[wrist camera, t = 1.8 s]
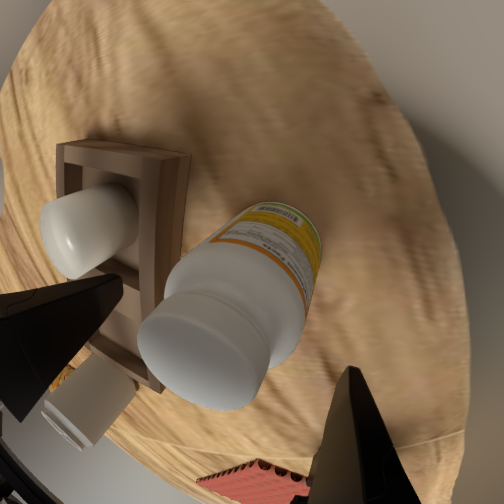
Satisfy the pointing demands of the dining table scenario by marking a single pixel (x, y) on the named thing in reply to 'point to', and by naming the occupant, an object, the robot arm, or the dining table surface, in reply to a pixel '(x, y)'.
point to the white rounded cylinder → (88, 227)
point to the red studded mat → (256, 485)
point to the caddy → (146, 245)
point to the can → (89, 401)
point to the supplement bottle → (234, 307)
